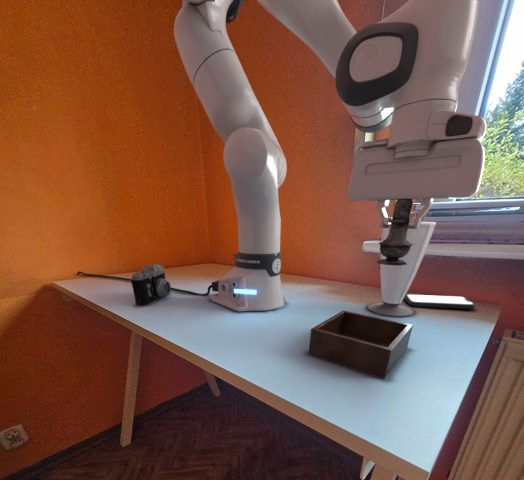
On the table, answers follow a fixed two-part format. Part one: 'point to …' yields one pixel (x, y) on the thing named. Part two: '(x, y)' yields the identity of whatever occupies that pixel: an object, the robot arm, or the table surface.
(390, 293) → the cup
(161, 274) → the camera
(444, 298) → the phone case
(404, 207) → the salt shaker
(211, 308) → the table surface
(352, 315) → the crate
